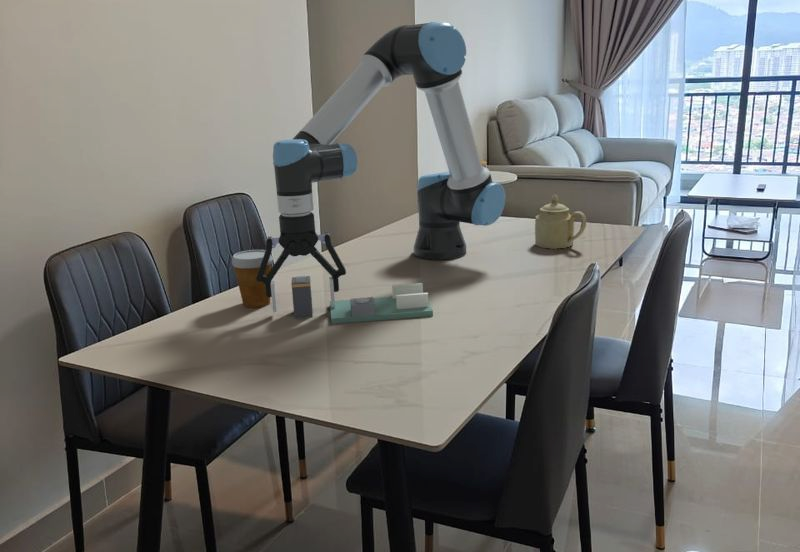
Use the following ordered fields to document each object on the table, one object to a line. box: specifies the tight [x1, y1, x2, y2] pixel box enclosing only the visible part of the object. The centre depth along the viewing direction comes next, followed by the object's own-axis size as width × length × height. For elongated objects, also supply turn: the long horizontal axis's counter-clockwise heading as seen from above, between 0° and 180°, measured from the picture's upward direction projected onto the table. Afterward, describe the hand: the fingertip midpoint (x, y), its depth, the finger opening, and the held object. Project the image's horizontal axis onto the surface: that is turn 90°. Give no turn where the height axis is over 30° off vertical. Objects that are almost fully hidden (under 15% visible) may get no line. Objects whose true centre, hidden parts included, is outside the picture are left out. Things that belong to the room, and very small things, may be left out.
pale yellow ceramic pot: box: [534, 194, 587, 250], centre depth 208 cm, size 15×11×15 cm
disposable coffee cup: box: [231, 249, 274, 309], centre depth 166 cm, size 10×10×12 cm
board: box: [329, 282, 434, 325], centre depth 159 cm, size 12×22×4 cm, turn 97°
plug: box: [290, 275, 314, 319], centre depth 158 cm, size 5×4×9 cm
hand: (304, 308), depth 159 cm, fingers open, 12 cm apart
